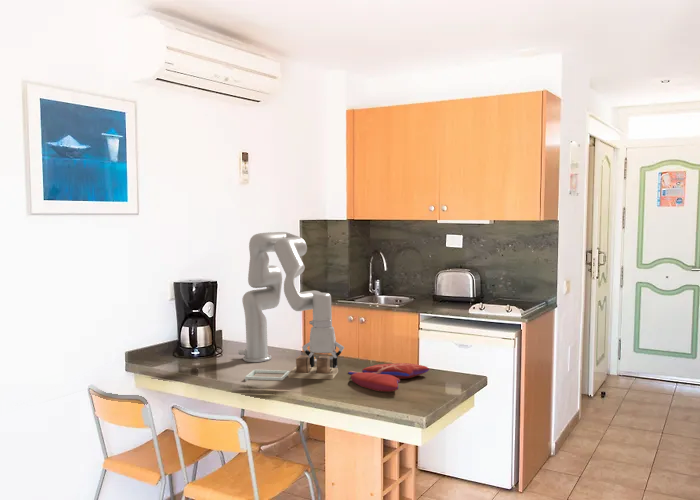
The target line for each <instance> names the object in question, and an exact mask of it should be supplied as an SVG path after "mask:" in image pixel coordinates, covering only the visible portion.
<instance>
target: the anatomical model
mask: <svg viewBox="0 0 700 500" xmlns="http://www.w3.org/2000/svg"><path fill="white" fill-rule="evenodd" d="M428 371H430V368H429V367H428V366H425V365H421V364H415V363H409V362H401V363H400V362H399V363H381V364H375V365H371V366H367V367H363V369H362V370H361V371H353V370H349V371H347V375H350V379H351V381H352V382H353V383H354V384H356V385H358V386H359V387H361V388H365V389H369V390H370V391H376V392H395V391H398V390H399V384H400V382H401V380H406V379H407V380H408V379H411V378H415V377H417V376H420V375H421V376H422V375H424V374H425V373H427V372H428Z"/></svg>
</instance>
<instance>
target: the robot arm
mask: <svg viewBox="0 0 700 500" xmlns="http://www.w3.org/2000/svg"><path fill="white" fill-rule="evenodd" d="M248 245H249V246H248V250H249V263H248V264H249V266H248V277H247V282H248V286H249V287H250V288H253V289H252V290H247V291H246V292H245V293H244V294H243V296H242V308H243V311H244V318H245V321H244V322H245V336H246V337H245V338H246V339H245V342H246V343H245V344H246V345H245V346H246V349H238V352H237V353H238V355H241V356H242V355H243V358H242V359H243V361H244V362H247V363H261V362H262V363H263V362H267V361H270V360H271V359H272V355H271V354H269V349H268V348H269V347H268V322H267V317H266V315H265V314H264V312H263V311H266V310H270V309H275V308H277V307H278V306H279V304H280V301H281V293H282V283H283V292H284V295H285V299H286V301H287V303H288V304H289V306H290V307H291V309H292V310H293V311H295V312H303V311H310V310H312V320H309V325H312V327H311V328H310V331H309V341H308V342H307V343H305V344H304V345H303V346H302V347H301V348H302V350H303V351H304V353H305V355H308V357H309V358H310V367H311V368H312V367H315V365H316V364H315V362H314V357H315V354H331V356H333V368H335V367H336V366H337V367H338V357H339V356H340V355H341V354H342V352H343V350H344V349H345V347H344V345H342V344H341V343H339V342H337V339H336V334H335V333H336V332H335V327H334V326H333V317H332V316H333V314H332V311H333V310H332V295H331V294H330V293H328V292H321V291H319V290H314V289H313V290H306V291H301V292H299V290H298V289H297V287H296V284H295V279H296V278H297V277H299V276H301V275H302V273H304V272H305V268H306V267H305V264H304V262H303V259H302V258H301V257H304V256H305V255H306V253H307V251H308V246H307V243H306V241H305V240H304V239H303V237H300V236H298V235H295V234H292V233H290V232H286V231H277V232H276V231H275V232H270V231H269V232H258V233H256V234H253V235H252V236H251V237H250V239H249V243H248ZM271 252H272V253H273V252H274V253H275V254H276V257H277V258H278V260H279V262H280V265H281V267H282V269H283V271H284V273H285V277H284V282H283V273H282V270H281V269H280V267H278V266H277V265H269V263H270V258H269V255H268V253H271ZM308 347H309V348H308ZM337 348H338V351H336V350H337Z"/></svg>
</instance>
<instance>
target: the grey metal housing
mask: <svg viewBox="0 0 700 500" xmlns="http://www.w3.org/2000/svg"><path fill="white" fill-rule="evenodd" d="M329 356H330V355H329ZM330 368H333V355H331V356H330ZM335 368H338V365H337V366H336V367H335Z"/></svg>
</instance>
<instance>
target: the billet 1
mask: <svg viewBox="0 0 700 500" xmlns="http://www.w3.org/2000/svg"><path fill="white" fill-rule="evenodd" d="M295 367H296V371H297V373H308V372H309V371H310V367H311V365H310V358H309V357H308V355H307V354H305V355H304V354H303V355H302V354H300V355H299V356H298V357H296V358H295Z"/></svg>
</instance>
